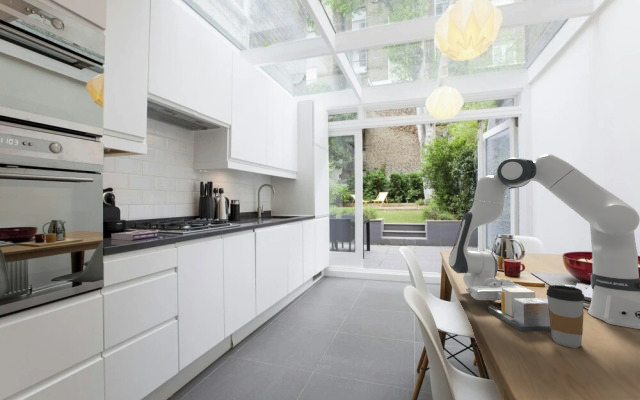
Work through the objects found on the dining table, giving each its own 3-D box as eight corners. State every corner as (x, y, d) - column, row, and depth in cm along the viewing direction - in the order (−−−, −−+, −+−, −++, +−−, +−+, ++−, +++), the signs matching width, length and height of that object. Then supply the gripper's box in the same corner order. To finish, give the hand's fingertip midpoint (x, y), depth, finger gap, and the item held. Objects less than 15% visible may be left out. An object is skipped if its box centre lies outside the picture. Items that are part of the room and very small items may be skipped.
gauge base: (488, 310, 108) (487, 287, 109) (521, 310, 108) (520, 287, 108) (520, 331, 90) (520, 303, 91) (560, 331, 90) (559, 303, 91)
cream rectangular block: (496, 310, 104) (495, 287, 104) (524, 310, 104) (523, 287, 104) (506, 316, 98) (506, 292, 98) (536, 316, 98) (535, 292, 98)
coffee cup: (548, 333, 89) (546, 283, 89) (585, 341, 84) (583, 287, 84) (547, 343, 82) (545, 289, 83) (587, 352, 77) (585, 294, 77)
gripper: (463, 280, 118) (482, 290, 104) (515, 280, 118) (541, 290, 104) (464, 296, 118) (482, 308, 104) (516, 296, 118) (541, 308, 104)
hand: (512, 299), depth 104 cm, fingers closed, pressing on cream rectangular block
